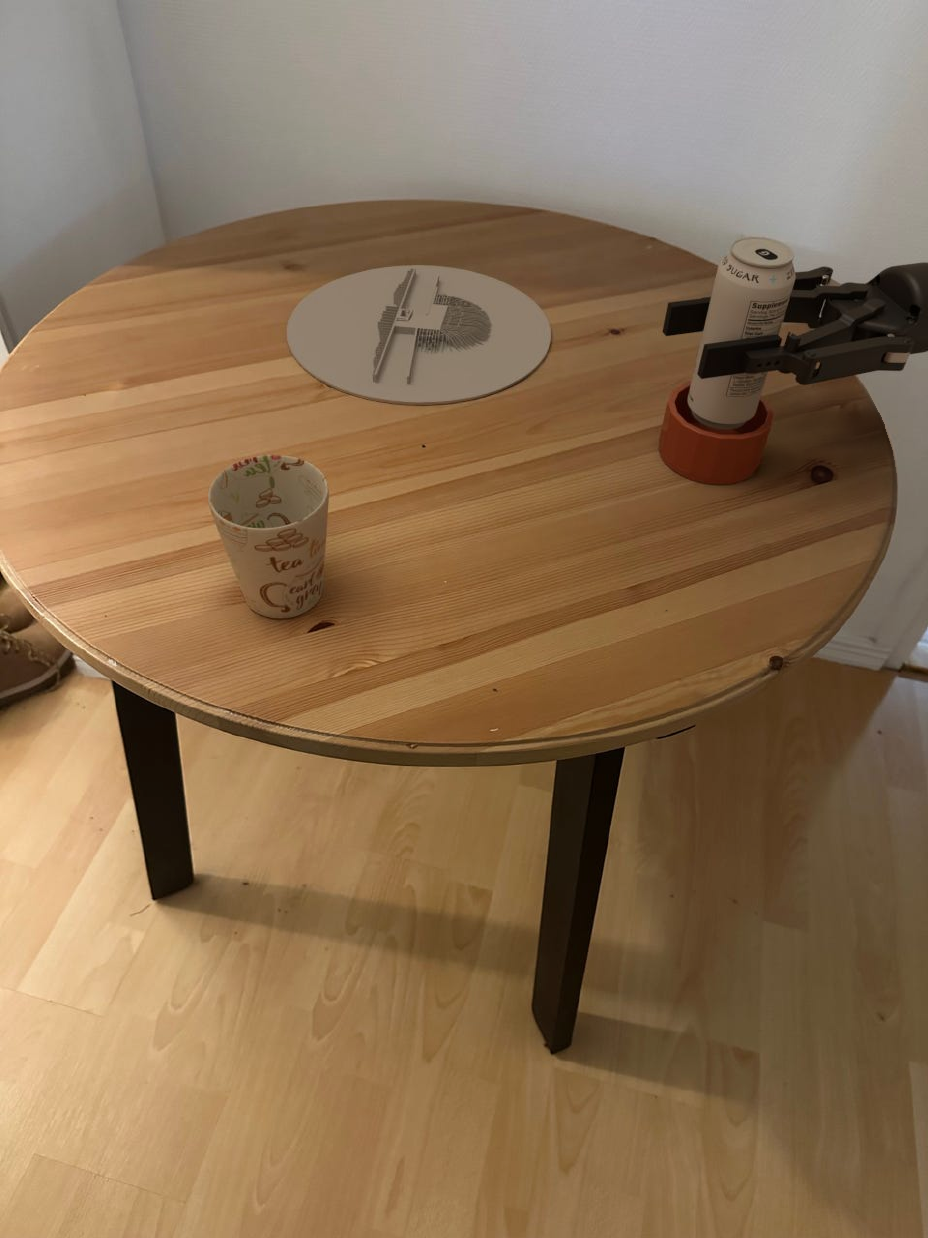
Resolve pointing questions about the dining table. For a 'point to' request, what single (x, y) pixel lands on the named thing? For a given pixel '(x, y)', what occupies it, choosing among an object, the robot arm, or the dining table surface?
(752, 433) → the holder
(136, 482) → the dining table surface
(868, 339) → the robot arm
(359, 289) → the plate
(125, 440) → the dining table surface
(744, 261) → the energy drink can
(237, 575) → the mug
